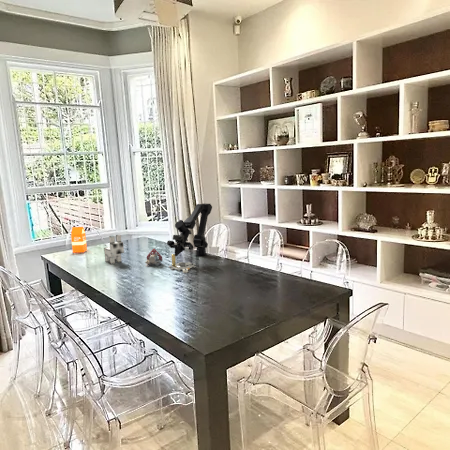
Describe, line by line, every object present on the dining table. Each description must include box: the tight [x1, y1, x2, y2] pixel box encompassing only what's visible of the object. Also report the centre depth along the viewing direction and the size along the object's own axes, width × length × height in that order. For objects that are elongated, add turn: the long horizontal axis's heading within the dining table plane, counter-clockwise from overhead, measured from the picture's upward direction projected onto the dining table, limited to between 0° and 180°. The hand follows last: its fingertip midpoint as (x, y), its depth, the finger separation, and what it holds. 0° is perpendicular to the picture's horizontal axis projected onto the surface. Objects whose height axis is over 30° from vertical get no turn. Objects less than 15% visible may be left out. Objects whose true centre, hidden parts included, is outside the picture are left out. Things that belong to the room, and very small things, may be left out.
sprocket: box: [168, 253, 196, 271], centre depth 257 cm, size 18×18×9 cm
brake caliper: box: [144, 248, 163, 267], centre depth 265 cm, size 11×11×12 cm
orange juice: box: [70, 226, 88, 254], centre depth 313 cm, size 8×9×20 cm
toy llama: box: [103, 233, 125, 265], centre depth 275 cm, size 8×18×20 cm, turn 42°
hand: (175, 255), depth 259 cm, fingers closed
